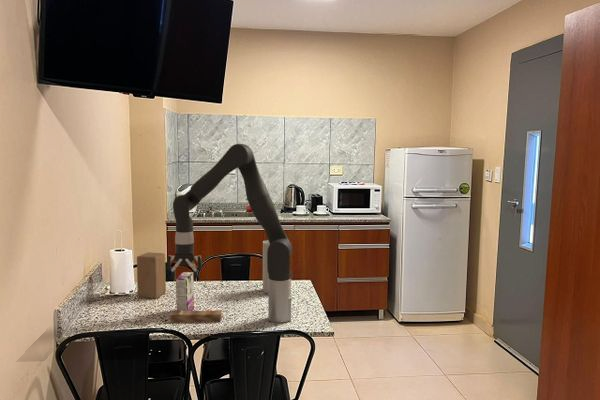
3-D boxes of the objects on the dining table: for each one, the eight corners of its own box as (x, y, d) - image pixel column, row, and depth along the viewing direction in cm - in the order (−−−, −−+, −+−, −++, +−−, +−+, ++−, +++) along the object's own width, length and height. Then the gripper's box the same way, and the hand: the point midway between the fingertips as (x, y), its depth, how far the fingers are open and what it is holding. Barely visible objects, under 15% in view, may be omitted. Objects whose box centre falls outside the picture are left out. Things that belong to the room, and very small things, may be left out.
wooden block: (156, 299, 217) (155, 257, 216) (136, 297, 219) (135, 256, 218) (166, 293, 227) (166, 252, 225) (147, 292, 229) (147, 251, 227)
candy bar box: (182, 308, 205) (182, 271, 203) (194, 308, 205) (193, 272, 203) (175, 317, 194) (175, 278, 192) (187, 317, 194) (187, 278, 192)
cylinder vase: (257, 291, 232) (257, 241, 230) (274, 286, 241) (275, 238, 239) (275, 296, 224) (276, 245, 221) (292, 291, 233) (293, 241, 231)
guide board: (221, 317, 194) (221, 310, 194) (220, 321, 189) (220, 314, 189) (172, 318, 193) (172, 310, 192) (170, 322, 188) (170, 314, 187)
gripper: (165, 243, 192) (165, 282, 194) (200, 243, 193) (200, 282, 195) (169, 240, 200) (169, 277, 201) (202, 240, 201) (202, 277, 202)
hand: (184, 279), depth 198 cm, fingers open, 8 cm apart
